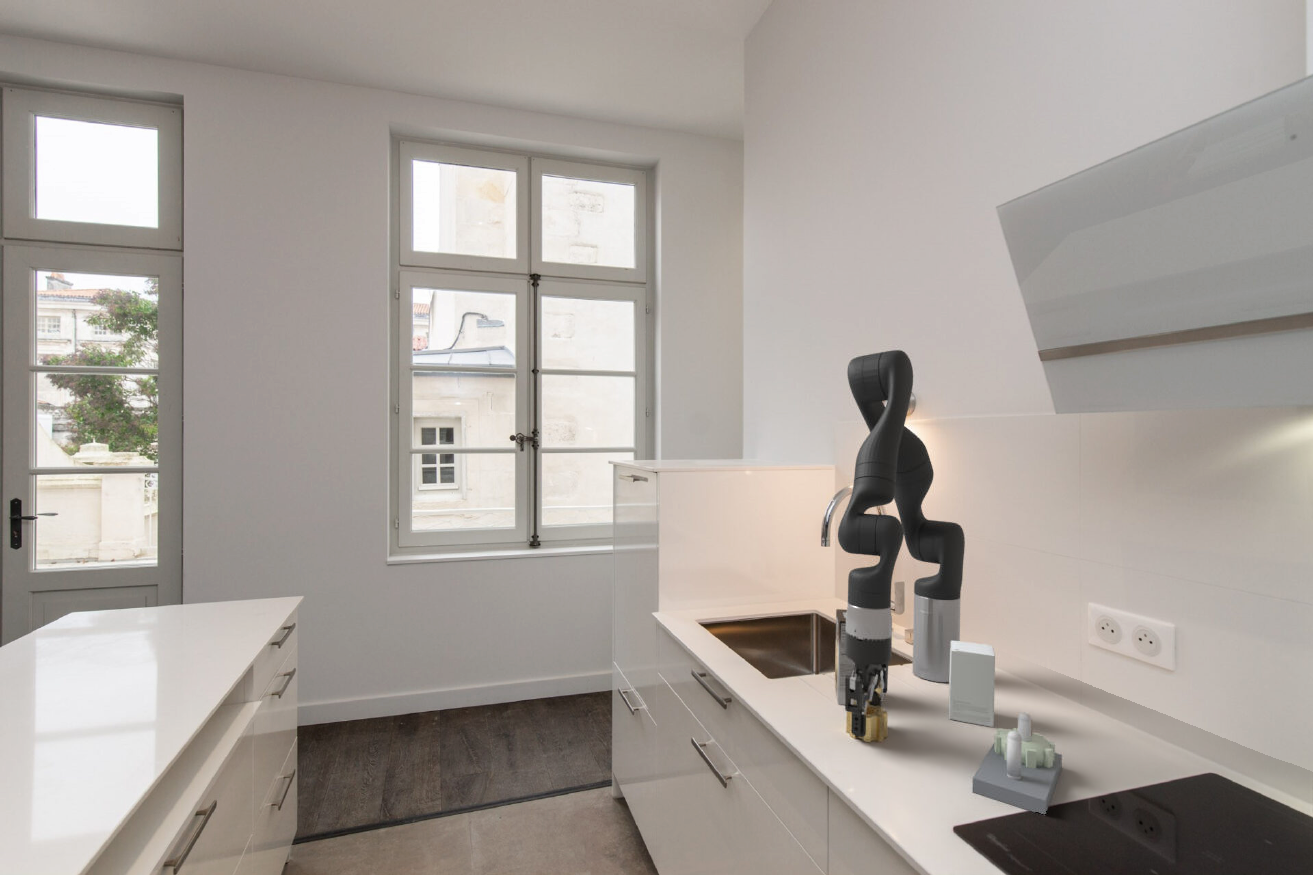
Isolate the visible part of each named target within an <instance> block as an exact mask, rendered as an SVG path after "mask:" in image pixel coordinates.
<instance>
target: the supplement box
mask: <svg viewBox="0 0 1313 875" xmlns="http://www.w3.org/2000/svg"><path fill="white" fill-rule="evenodd" d="M995 676H996V654H995V650H994V645H989V644H984V643H983V644H982V643H975V642H968V641H961V640H960V641H951V647H950V674H949V682H948V718H949V720H953V721H959V722H963V723H969V724H974V725H980V726H985V727H990V728H992V727H994V725H995V679H996V678H995Z"/></svg>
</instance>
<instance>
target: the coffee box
mask: <svg viewBox="0 0 1313 875" xmlns="http://www.w3.org/2000/svg"><path fill="white" fill-rule="evenodd" d="M835 611H836V612H835V619H836V620H835V657H834V658H835V661H834V662H835V663H834V665H835V666H834V668H835V669H834V670H835V671H834V688H835V696H836V702H837V704H838V705H843V706H845V678H846V676H847V675H849V676H852V672H853V669H854V665H855V663H854V662H853V661H852V660H851V659H849V658H848V657H847V656H846V654H845V638H846V612H847V609H841V608H837V609H836V610H835ZM862 694H864V695H865V694H867V693H864V692H862ZM856 703H857V701H856ZM862 704H863V700H862Z"/></svg>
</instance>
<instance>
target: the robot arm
mask: <svg viewBox="0 0 1313 875" xmlns="http://www.w3.org/2000/svg"><path fill="white" fill-rule="evenodd" d="M846 371H847V380H848V385H849V388H850V390H851V393H852V396H853V398H854V401H855V403H856V406H857V407H858V409H859V411H860V414H861V416H862V418H863V419H864V423H865V424H866V426H867V428H868V430H869V433H868V435H867V437H866V438H865V439H864V441H863V442H862V444H861V445H860V448H859V450H858V452H857V456H856V460H855V467H854V477H853V486H852V492H851V495H850V499H849V502H848V504H847V507H846V509H845V511H844V514H843V516H842V518H841V520H840V522H839V527H838V528H837V530H838V531H837V541H838V543H839V546H840V547H841V548H842V550H843V551H844V552H845V553H848V554H853V555H862V556H863V555H864V556H874V557H875V556H876V557H880V559H879V562H878V563H877V564H875V565H873V566H872V565H871V566H866V567H865V566H863V567H858V568H853V569H852V570H850V572H849V573H848V579H847V607H846V610H847V612H846V638H845V654H846V656H847V657H848V658H849V659H851V660H852V661H853V662H854V663H855V665H854V669H853V672H852V676H849V675H847V676H846V678H845V705H844V706H845V708H844V709H845V712H847V711H848V712H852V725H851V732H852V734H853V735H856V736H859V737H864V736H865V735H866V712H867V706H868V703H870V705H873V706H880V707H882V706H883V705H882V704H883V702H882V701H883V700H884V698H885V694H887V692H888V685H889V684H888V680H889V679H888V676H889V663H890V661H891V660H892V650H893V649H892V647H893V646H892V645H893V644H892V642H893V638H892V637H893V616H892V606H891V605H892V602H891V601H892V582H893V581H892V580H893V574H894V571H895V570H894V569H895V565H896V561H897V560H898V557H899V556H898V555H899V553H900V551H901V549H902V545H903V542H904V540H905V545H906V548H907V550H908V552H909V555H910V557H912V559H915V560H917V561H919V562H924V563H929V564H930V563H931V564H935V565H939V568H938V572H937V573H936V574H935V575H930V576H925V577H921V578H917V579H916V580H915V581H914V584H913V585H914V587H913V631H912V633H913V635H912V636H913V638H912V673H913V674H914V675H915V676H917V677H918V678H921V679H924V680H928V681H932V682H938V683H949V674H950V647H951V641H961V637H960V636H961V591H962V584H963V573H964V572H963V571H964V560H965V559H964V558H965V547H966V544H965V543H966V542H965V541H966V539H965V538H966V537H965V533H964V529H963V528H962V525H960V524H958V523H957V522H954V521H953V522H951V521H946V520H945V521H944V520H932V519H928V518H926V517H925V515H924V512H923V509H922V508H923V507H922V504H923V502H924V499H925V498H926V496H927V494H928V492H929V491H930V488H931V486H932V484H933V481H934V474H935V473H934V468H933V465H932V462H931V458H930V455H929V453H928V452H929V451H928V449H927V447H926V445H925V443H924V442H923V441H922V440H921V438H920V437H919V436H918V435H916V434H915V433H914V432H913V431H911V430H910V429H909V427H906V426H905V423H906V418H907V415H908V411H909V406H910V403H911V396H912V392H913V387H914V386H913V385H914V371H913V365H912V362H911V359H910V357H909V355H908V354H907V353H906V352H905V351H903V350H901V349H894V350H887V351H882V352H876V353H875V352H874V353H869V354H866V355H865V354H864V355H860V356H856V357H854V358H852V359H851V360H850V361H849V363H848V365H847V370H846ZM884 402H886V404H884ZM893 501H894V504H895V505H896V509H897V512H898V516H899V519H898V518H897V517H896V516H894V515H890V514H874V513H865V512H867V511H868V510H870V509H872V508H876V507H882V506H885V505H889V504H890V503H892V502H893ZM862 692H864V693H867V694H865V695H864V694H862ZM862 700H863V704H862ZM856 701H857V705H856Z"/></svg>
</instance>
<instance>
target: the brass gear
mask: <svg viewBox="0 0 1313 875" xmlns="http://www.w3.org/2000/svg"><path fill="white" fill-rule="evenodd" d="M856 705H857V703H856ZM888 714H889V713H888V710H884V707H880V706H873V705H870V703H868V706H867V712H866V735H865V736H864V737H859V736H856V735H853V734H852V732H851V725H852V712H848V711H846V723H845V724H846V726H845V730H846V731H845V732H846V733H849V737H851V738H852V739H855V740H856V739H861V740H862V741H863V742H864V743H865V742H867V743H871V742H873V741H877V742H878V743H881V742H884V741H885V738H886V739H887V738H888V716H889V715H888Z"/></svg>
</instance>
